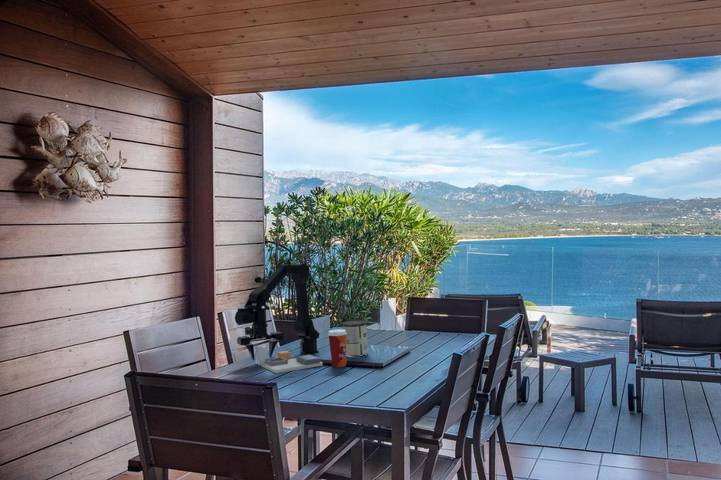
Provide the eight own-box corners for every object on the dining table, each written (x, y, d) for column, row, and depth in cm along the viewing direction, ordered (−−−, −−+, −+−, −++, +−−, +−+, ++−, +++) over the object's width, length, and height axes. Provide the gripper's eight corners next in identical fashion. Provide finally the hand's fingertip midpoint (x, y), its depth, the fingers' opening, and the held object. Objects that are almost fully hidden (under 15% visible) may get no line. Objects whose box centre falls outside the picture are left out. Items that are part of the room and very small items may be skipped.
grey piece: (310, 359, 279) (309, 354, 279) (320, 362, 270) (319, 358, 270) (296, 361, 276) (296, 356, 276) (306, 365, 268) (306, 360, 267)
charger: (265, 362, 284) (264, 345, 283) (268, 364, 280) (267, 347, 280) (255, 363, 282) (254, 346, 282) (259, 365, 278) (258, 348, 278)
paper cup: (346, 367, 264) (344, 332, 264) (327, 368, 266) (325, 332, 265) (350, 363, 272) (348, 328, 271) (332, 363, 273) (330, 329, 273)
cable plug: (280, 357, 293) (279, 348, 293) (290, 361, 283) (289, 352, 282) (271, 358, 291) (271, 349, 291) (281, 363, 281) (280, 353, 281)
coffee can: (345, 353, 294) (343, 320, 293) (369, 352, 293) (367, 319, 292) (342, 358, 284) (340, 324, 283) (367, 357, 283) (365, 323, 282)
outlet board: (306, 359, 285) (306, 352, 285) (322, 365, 271) (322, 358, 271) (261, 366, 276) (261, 359, 276) (275, 373, 261) (275, 366, 261)
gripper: (273, 317, 292) (275, 352, 292) (231, 322, 283) (234, 359, 284) (283, 319, 282) (285, 356, 283) (240, 325, 273) (242, 363, 274)
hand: (261, 358), depth 281 cm, fingers open, 7 cm apart
